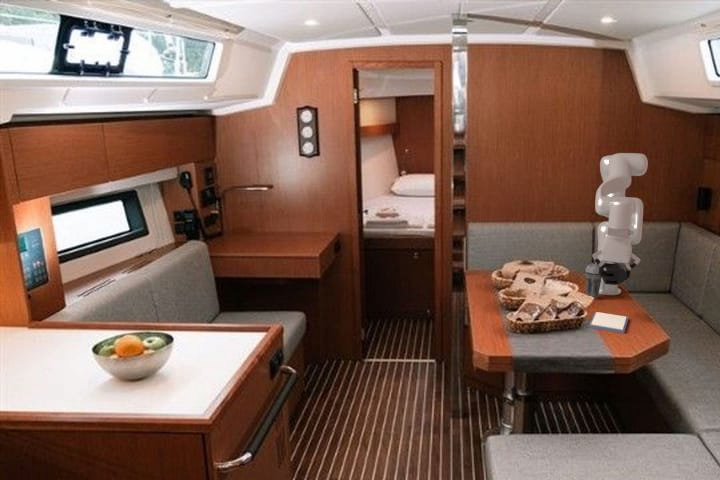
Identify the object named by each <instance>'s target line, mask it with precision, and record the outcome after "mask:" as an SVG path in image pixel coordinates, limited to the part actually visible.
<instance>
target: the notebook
mask: <svg viewBox="0 0 720 480" xmlns="http://www.w3.org/2000/svg"><path fill="white" fill-rule="evenodd" d="M628 322H629V317H628V316H624V315H619V314H612V313H605V312H599V311H595V312H594V314H593V316H592V318H591V320H590V322H589V324H588V328H591V329H597V330H603V331H607V332H612V333H613V332H614V333H620V334H625V331H626V328H627V325H628Z"/></svg>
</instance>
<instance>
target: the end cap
mask: <svg viewBox="0 0 720 480" xmlns="http://www.w3.org/2000/svg"><path fill="white" fill-rule="evenodd" d="M603 265H604V268H606V271H603V277H602V279H603V281H604V283H605V284H608V285H618V286H619V285H621V284H622V283H623V282H625V281H627V280H626V277H627V274H626V269H625V268H624V266H622V264H621V263H620V264H619V263H614V264H611V263H604V264H603Z"/></svg>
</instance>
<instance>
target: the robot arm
mask: <svg viewBox="0 0 720 480" xmlns="http://www.w3.org/2000/svg"><path fill="white" fill-rule="evenodd" d="M648 164H649V161H648V157H647V155H645V154H643V153H637V152H636V153H633V152H626V153H625V152H618V153H614V154H609V155H605V156H603V157H602V158H601V159H600V162H599V168H600V169H599V171H600V175H601V179H602V183H601V184H600V185H599V187H598V189H597V190H596V193H595V204H594V206H595V208H594V209H595V212H596V214H598V215H599V216H605V218H608V221H607V220H606V221H602V222H601V223H599V225H598V226H597V251H596V252H594V253H592V254H591V256H592V258H593V260H594V263H597V264H598V265H599V274H600V277H603V271H606V268H604V265H603V264H604V263H611V264H614V263H619V264H621V265H623V264H624V265H625V267H626V269H625V272H626V274H627V277H626V280H625V281H628V279H630V278H631V277H630V276H631V270H633V269H634V268H635V267H636V266H638V265H639V263H640V262H641V259H640V257H638V256H637V255H635V254H634V253H633V249H632V248H633V246H632V245H638V244H640V242H641V240H642V233H643V219H644V217H643V216H644V203H643V200H642V199H641V198H638V197H628V196H626V189H628V188H629V187H630V186H631V185H632V176H633V177H640V176H643V175H645V174H646V173H647V170H648V166H649V165H648ZM597 256H598V257H597ZM631 259H632V260H634V262H633V263H630V262H631ZM621 293H622V289H621V288H619V285H608V284H605V283H604V281H603V279H602V278H601V284H600V289H599V294H598V295H603V296H617V295H620V294H621Z"/></svg>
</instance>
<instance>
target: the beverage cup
mask: <svg viewBox="0 0 720 480" xmlns="http://www.w3.org/2000/svg"><path fill="white" fill-rule="evenodd" d="M597 257H598V256H597ZM584 272H585V296H586V295H588V296H592V297H594V300H593V301H596V300H598V297H599V295H600V294H599V289H600V284H601V278H602V277H600V274H599V265H598V264H597V263H596V262H591V263H589V264H588V265H587V266H586V268H585V271H584Z"/></svg>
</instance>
